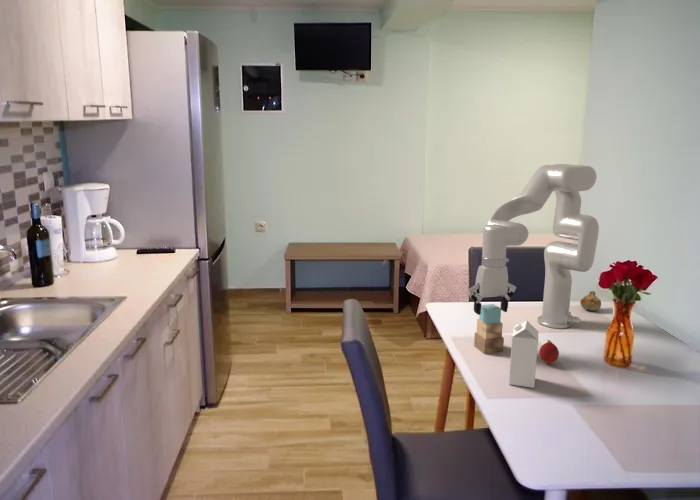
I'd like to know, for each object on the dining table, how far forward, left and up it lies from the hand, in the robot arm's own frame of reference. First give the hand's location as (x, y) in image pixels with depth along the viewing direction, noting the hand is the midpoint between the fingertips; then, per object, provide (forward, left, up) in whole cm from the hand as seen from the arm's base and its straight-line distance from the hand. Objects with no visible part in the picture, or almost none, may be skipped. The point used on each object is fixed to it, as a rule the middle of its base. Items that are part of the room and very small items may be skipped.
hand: (490, 312), depth 187 cm
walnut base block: (0, 0, -13) cm, 13 cm away
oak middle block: (0, 0, -8) cm, 8 cm away
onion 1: (-20, +1, -13) cm, 24 cm away
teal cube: (0, 0, -3) cm, 3 cm away
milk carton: (-17, +18, -13) cm, 28 cm away
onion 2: (-20, -61, -13) cm, 66 cm away
